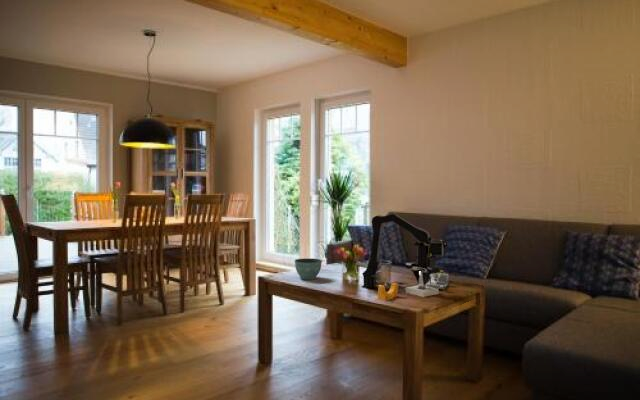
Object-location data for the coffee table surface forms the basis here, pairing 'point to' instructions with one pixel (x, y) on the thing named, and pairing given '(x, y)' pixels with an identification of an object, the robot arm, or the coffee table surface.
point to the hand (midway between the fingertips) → (422, 283)
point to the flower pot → (308, 268)
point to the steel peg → (421, 281)
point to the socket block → (401, 285)
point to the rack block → (422, 291)
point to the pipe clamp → (387, 295)
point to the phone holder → (438, 281)
